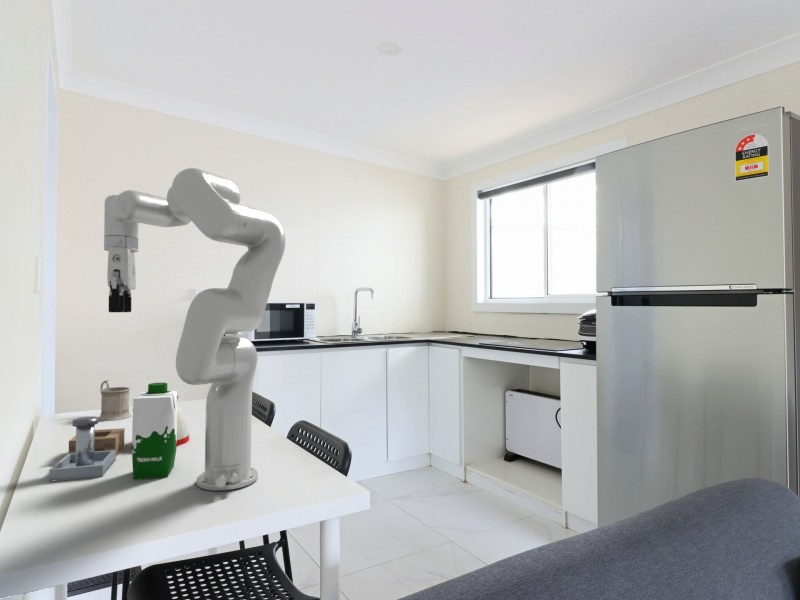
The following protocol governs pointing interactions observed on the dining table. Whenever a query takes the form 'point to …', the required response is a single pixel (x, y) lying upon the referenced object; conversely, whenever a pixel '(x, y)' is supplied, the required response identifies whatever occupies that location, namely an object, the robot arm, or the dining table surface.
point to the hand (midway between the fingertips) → (120, 312)
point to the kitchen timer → (181, 428)
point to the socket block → (104, 440)
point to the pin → (85, 440)
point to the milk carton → (154, 432)
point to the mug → (114, 403)
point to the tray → (69, 470)
